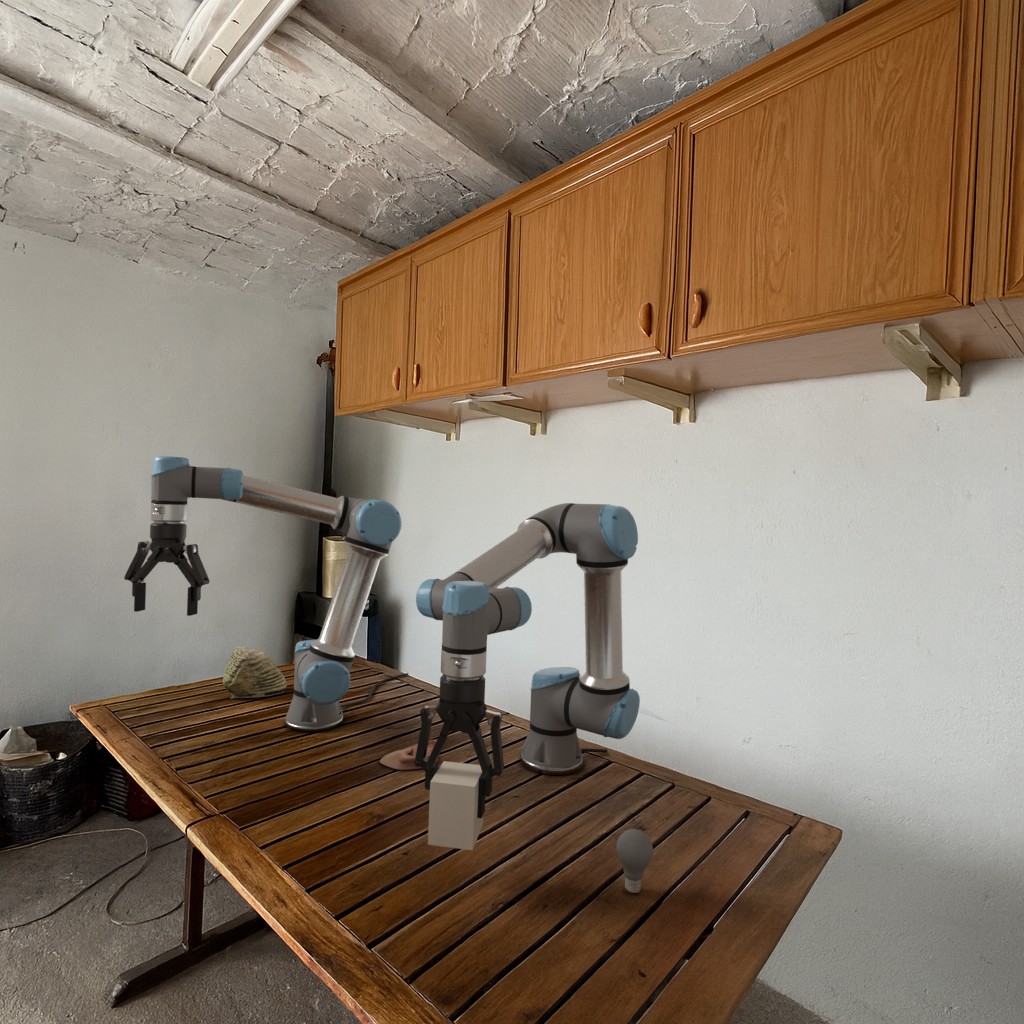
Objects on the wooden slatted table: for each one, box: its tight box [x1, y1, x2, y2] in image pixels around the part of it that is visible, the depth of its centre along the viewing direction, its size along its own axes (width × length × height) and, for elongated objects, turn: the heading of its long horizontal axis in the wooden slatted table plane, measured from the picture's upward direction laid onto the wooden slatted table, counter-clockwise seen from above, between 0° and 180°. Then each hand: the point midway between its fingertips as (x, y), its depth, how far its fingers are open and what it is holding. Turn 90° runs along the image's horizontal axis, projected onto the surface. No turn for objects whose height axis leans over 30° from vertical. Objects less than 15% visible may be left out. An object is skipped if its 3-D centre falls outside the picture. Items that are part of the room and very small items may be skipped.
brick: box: [427, 760, 484, 851], centre depth 106 cm, size 8×7×10 cm
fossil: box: [222, 646, 288, 699], centre depth 198 cm, size 9×18×15 cm, turn 132°
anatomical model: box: [379, 739, 439, 771], centre depth 154 cm, size 13×4×12 cm
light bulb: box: [615, 828, 654, 894], centre depth 106 cm, size 6×6×10 cm
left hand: (165, 612), depth 149 cm, fingers open, 13 cm apart
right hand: (457, 811), depth 106 cm, fingers closed on brick, 7 cm apart
